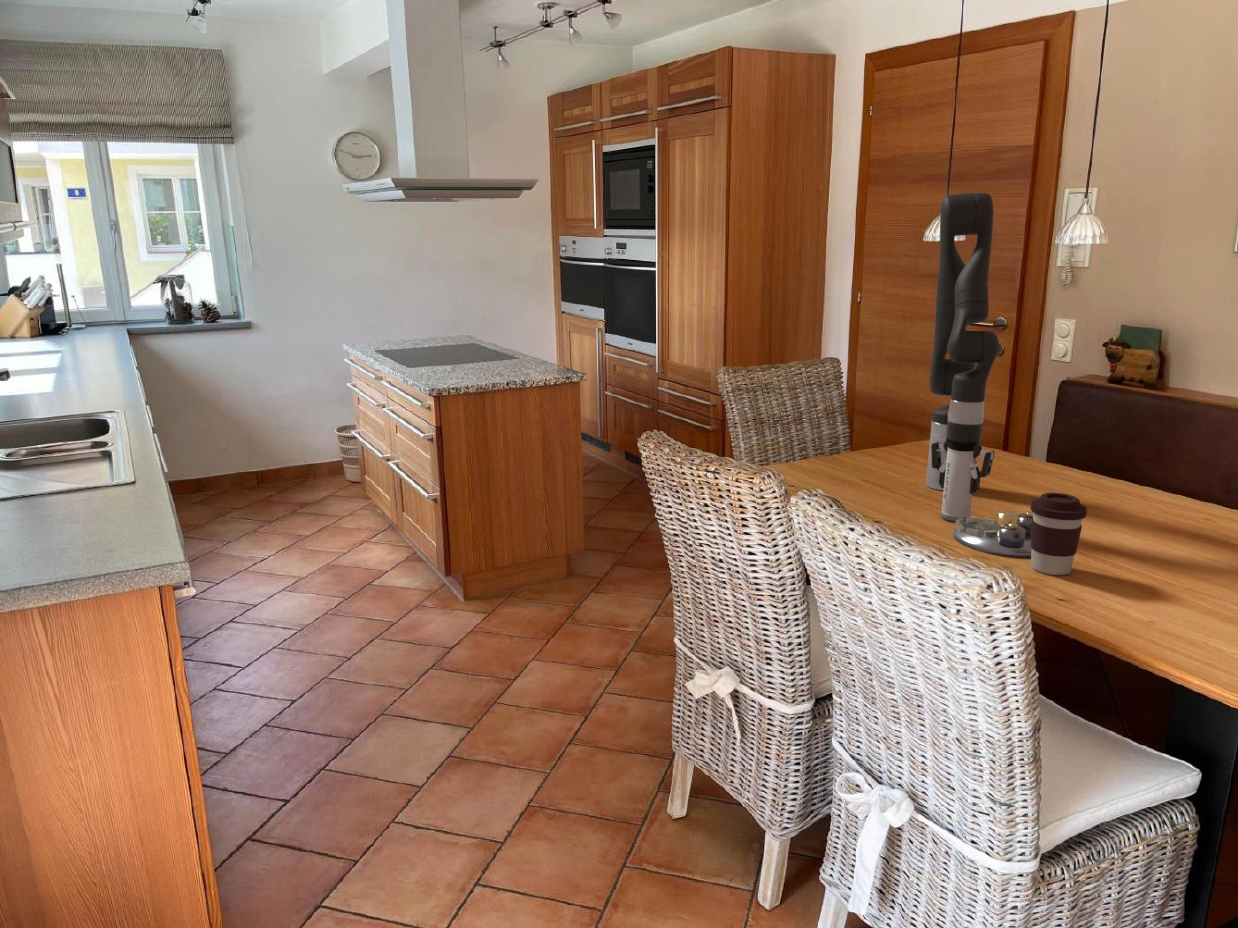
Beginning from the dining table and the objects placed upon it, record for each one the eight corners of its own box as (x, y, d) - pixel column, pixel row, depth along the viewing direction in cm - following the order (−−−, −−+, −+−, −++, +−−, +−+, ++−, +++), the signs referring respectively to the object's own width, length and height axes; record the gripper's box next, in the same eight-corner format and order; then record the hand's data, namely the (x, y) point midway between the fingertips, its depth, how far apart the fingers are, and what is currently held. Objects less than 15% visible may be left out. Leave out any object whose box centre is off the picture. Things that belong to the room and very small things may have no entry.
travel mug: (970, 515, 211) (979, 432, 206) (968, 523, 205) (977, 438, 200) (942, 511, 214) (950, 429, 208) (939, 519, 208) (947, 435, 203)
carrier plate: (975, 518, 210) (978, 492, 208) (1071, 539, 196) (1075, 512, 194) (936, 541, 195) (939, 513, 193) (1038, 565, 181) (1042, 536, 179)
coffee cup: (1015, 560, 184) (1023, 489, 180) (1064, 560, 184) (1074, 490, 180) (1035, 578, 174) (1045, 504, 170) (1087, 579, 174) (1098, 505, 170)
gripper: (1004, 421, 201) (995, 493, 206) (941, 412, 211) (935, 481, 215) (991, 427, 196) (983, 500, 200) (927, 417, 205) (921, 487, 210)
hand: (958, 490), depth 208 cm, fingers closed on travel mug, 6 cm apart
